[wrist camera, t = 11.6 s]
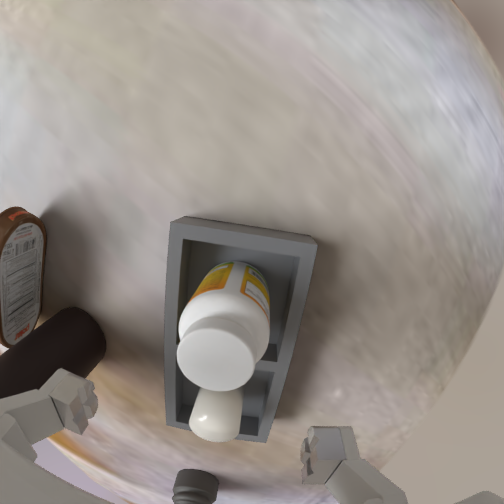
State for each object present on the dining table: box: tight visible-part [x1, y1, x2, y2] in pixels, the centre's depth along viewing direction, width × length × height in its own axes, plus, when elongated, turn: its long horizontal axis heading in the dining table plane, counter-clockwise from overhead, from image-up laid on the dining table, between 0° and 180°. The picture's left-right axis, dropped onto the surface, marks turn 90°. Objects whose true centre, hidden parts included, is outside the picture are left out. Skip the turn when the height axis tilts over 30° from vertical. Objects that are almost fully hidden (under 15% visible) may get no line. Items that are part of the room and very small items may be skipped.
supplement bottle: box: [177, 261, 270, 391], centre depth 18 cm, size 5×5×10 cm
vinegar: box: [0, 307, 106, 399], centre depth 16 cm, size 7×7×20 cm
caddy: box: [164, 216, 318, 443], centre depth 23 cm, size 20×10×4 cm, turn 171°
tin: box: [0, 207, 47, 348], centre depth 20 cm, size 15×3×8 cm, turn 158°
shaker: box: [189, 384, 245, 442], centre depth 22 cm, size 4×4×6 cm
